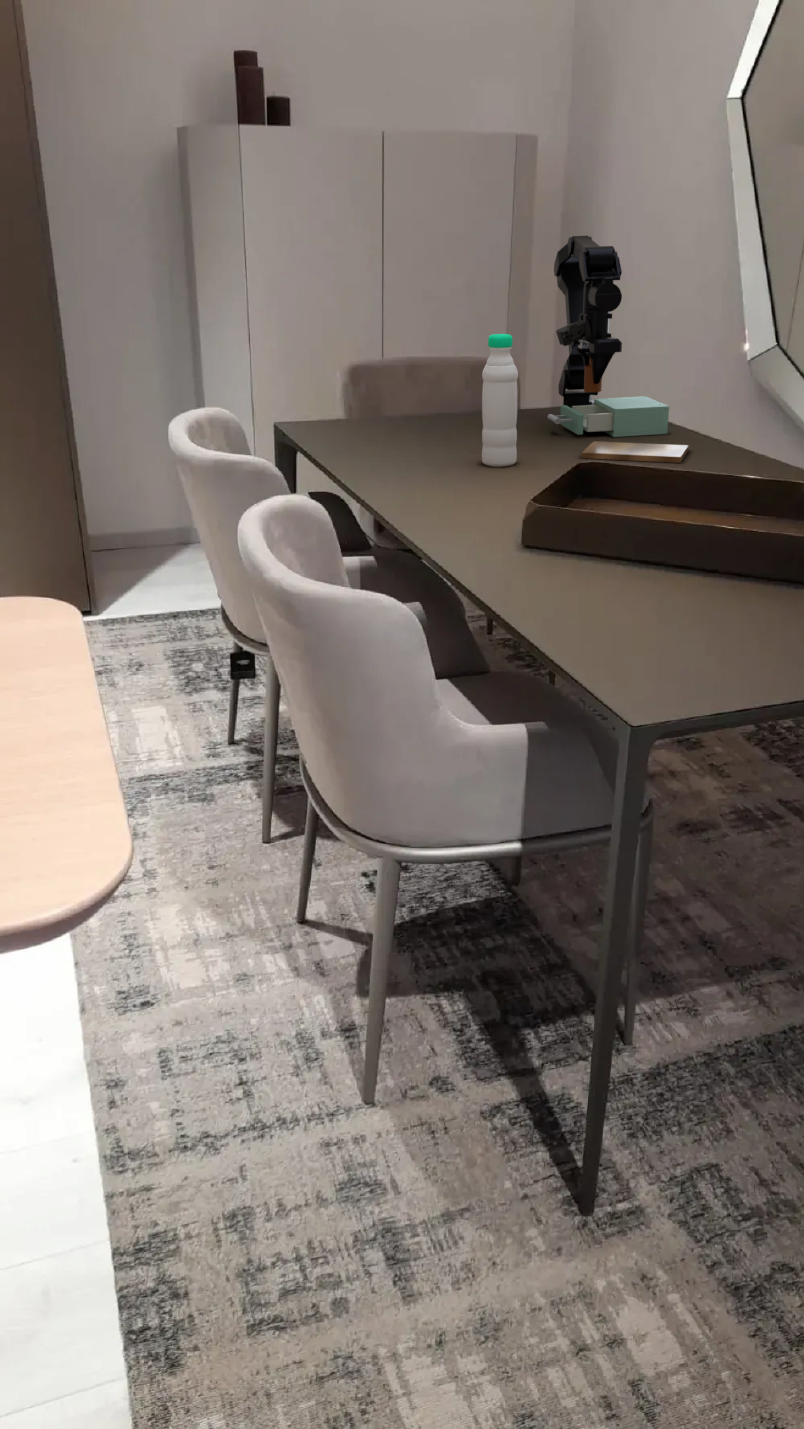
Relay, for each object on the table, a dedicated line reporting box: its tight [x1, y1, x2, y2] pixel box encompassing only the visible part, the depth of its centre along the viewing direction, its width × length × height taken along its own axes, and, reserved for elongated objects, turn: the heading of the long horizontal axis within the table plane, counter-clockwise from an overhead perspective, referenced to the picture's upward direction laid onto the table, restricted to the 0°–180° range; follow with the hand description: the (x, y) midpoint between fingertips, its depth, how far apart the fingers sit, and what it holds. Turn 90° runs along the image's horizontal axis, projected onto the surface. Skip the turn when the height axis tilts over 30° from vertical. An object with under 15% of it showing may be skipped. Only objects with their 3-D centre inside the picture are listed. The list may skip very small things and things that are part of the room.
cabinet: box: [593, 395, 670, 438], centre depth 252 cm, size 13×15×6 cm
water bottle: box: [481, 333, 519, 468], centre depth 219 cm, size 7×7×25 cm
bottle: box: [584, 358, 603, 393], centre depth 246 cm, size 4×4×8 cm
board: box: [581, 440, 689, 464], centre depth 228 cm, size 20×12×1 cm, turn 69°
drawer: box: [547, 404, 614, 435], centre depth 251 cm, size 16×13×4 cm
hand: (593, 382), depth 247 cm, fingers closed on bottle, 4 cm apart
